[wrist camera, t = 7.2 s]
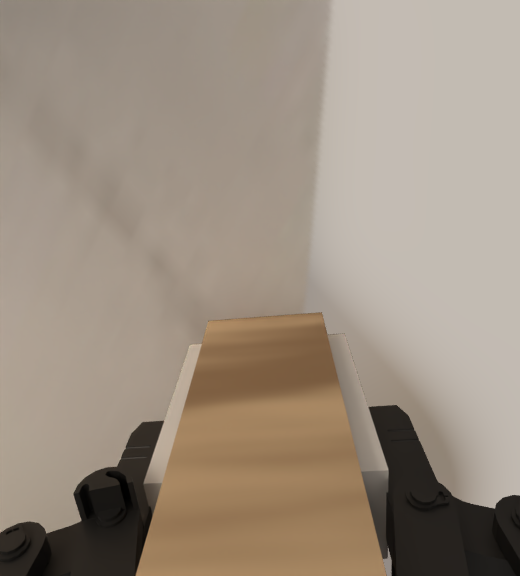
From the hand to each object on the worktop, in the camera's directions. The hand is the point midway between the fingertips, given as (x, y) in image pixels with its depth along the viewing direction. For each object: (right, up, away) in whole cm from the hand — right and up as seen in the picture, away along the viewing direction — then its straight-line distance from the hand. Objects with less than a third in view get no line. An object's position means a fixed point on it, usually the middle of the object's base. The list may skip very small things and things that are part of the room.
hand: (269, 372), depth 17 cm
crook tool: (-2, -8, +4) cm, 9 cm away
